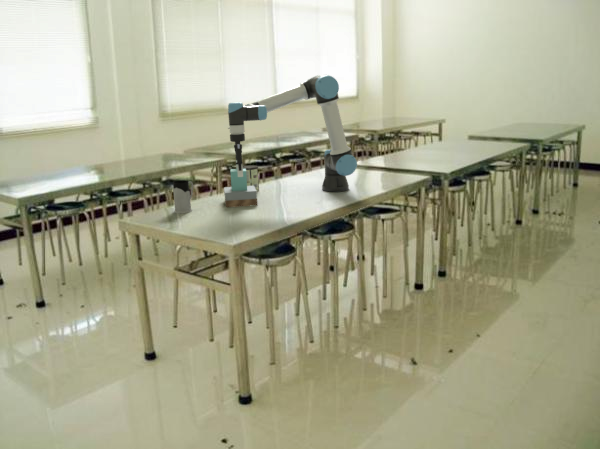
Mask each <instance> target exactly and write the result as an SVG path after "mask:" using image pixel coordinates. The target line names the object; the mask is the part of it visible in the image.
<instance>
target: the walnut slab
mask: <svg viewBox="0 0 600 449" xmlns="http://www.w3.org/2000/svg"><path fill="white" fill-rule="evenodd" d="M224 202H225V208H237V207H251V206H250V205H255V206H258V198H257V199H245V200H229V201H226V200H225V199H224Z"/></svg>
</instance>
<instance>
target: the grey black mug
mask: <svg viewBox="0 0 600 449" xmlns="http://www.w3.org/2000/svg"><path fill="white" fill-rule="evenodd" d="M190 184H191V185H190ZM172 185H173V187H172V188H173V201H174V202H173V203H174V214H188V213H191V212H192V211H193V209H192V207H191V206H192V204H191V203H192V202H191V199H192V197H193V192H194V184H193V181H192V180H191V181H189V180H185V179H184V180H183V179H182V180H175V181H173V182H172ZM189 185H190V186H191V192H190V187H189Z"/></svg>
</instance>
